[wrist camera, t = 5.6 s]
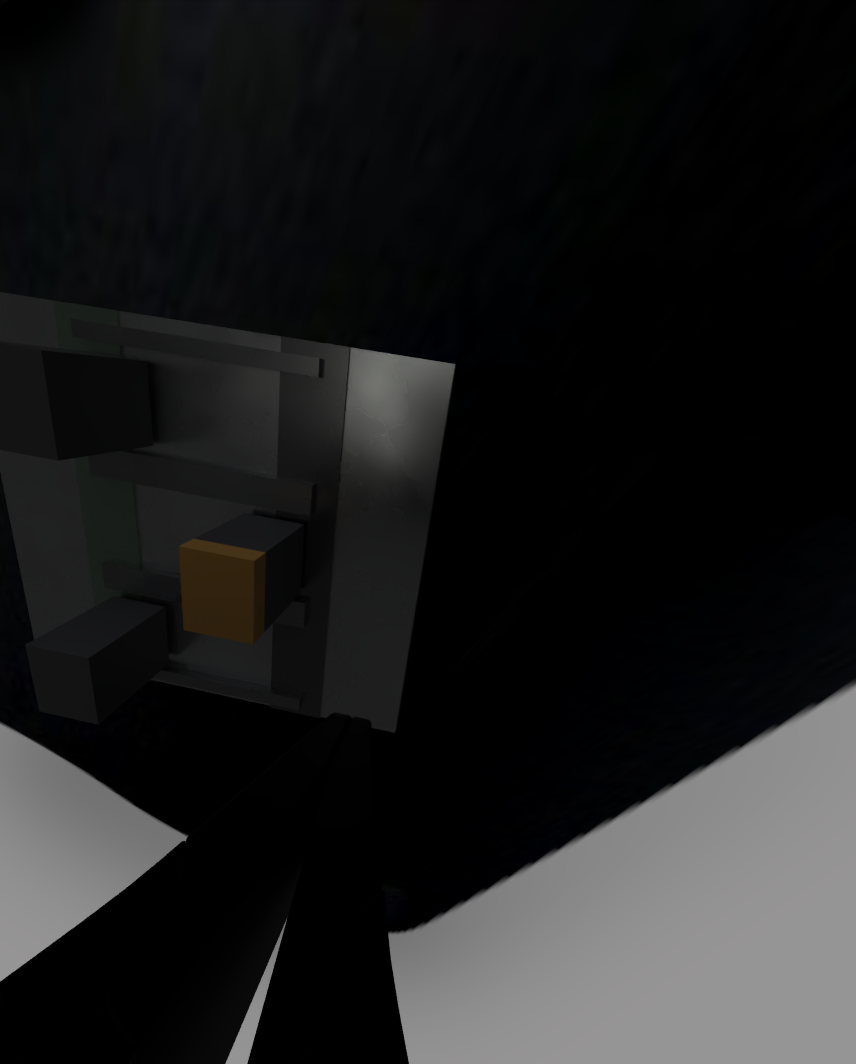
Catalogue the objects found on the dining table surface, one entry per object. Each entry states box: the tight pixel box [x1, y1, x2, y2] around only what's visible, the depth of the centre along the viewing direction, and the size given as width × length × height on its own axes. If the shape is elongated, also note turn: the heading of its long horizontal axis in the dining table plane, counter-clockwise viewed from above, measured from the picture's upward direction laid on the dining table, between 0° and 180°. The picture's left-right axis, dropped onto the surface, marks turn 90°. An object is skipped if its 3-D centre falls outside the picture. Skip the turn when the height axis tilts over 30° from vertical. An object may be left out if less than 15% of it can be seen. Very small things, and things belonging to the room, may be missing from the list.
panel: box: [0, 292, 457, 733], centre depth 17 cm, size 18×16×1 cm
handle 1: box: [0, 341, 153, 461], centre depth 13 cm, size 2×3×4 cm
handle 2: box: [25, 596, 169, 724], centre depth 17 cm, size 2×3×4 cm
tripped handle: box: [179, 513, 304, 645], centre depth 14 cm, size 2×3×4 cm
